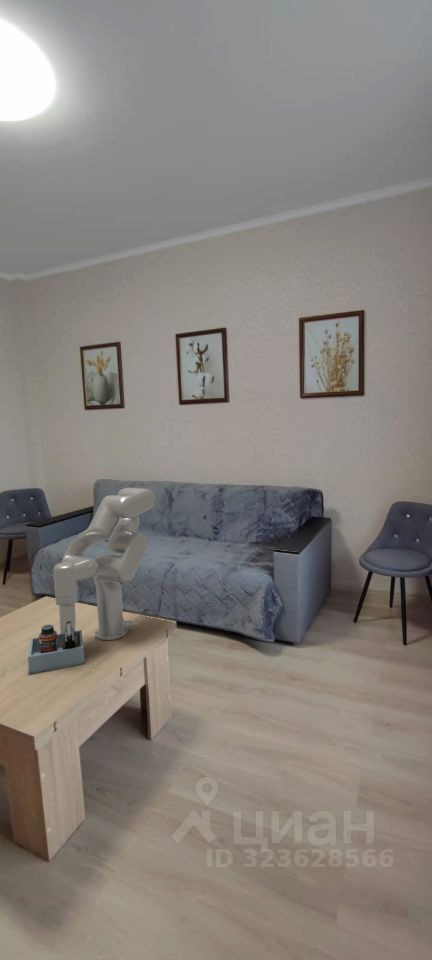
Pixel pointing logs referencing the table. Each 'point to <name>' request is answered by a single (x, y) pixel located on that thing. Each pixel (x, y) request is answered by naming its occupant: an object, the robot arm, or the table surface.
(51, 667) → the tote
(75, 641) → the walnut cube
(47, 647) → the supplement bottle
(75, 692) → the table surface
